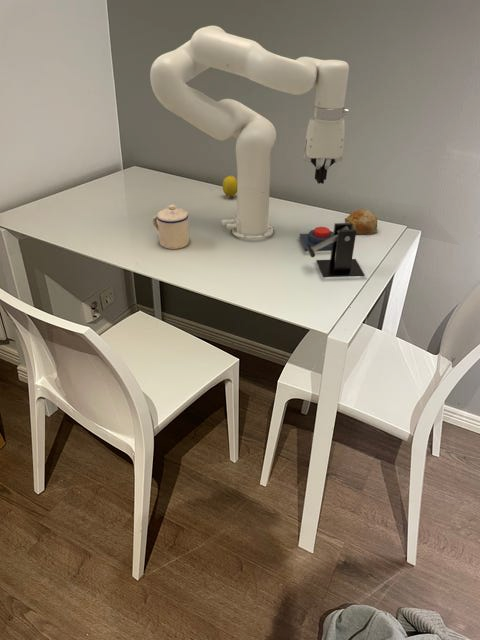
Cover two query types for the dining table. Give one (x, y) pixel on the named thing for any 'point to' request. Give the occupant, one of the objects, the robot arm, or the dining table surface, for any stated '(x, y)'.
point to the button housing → (314, 241)
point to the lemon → (230, 186)
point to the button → (321, 232)
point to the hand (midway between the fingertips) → (319, 181)
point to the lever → (323, 243)
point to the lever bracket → (341, 255)
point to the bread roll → (362, 222)
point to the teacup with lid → (172, 227)
